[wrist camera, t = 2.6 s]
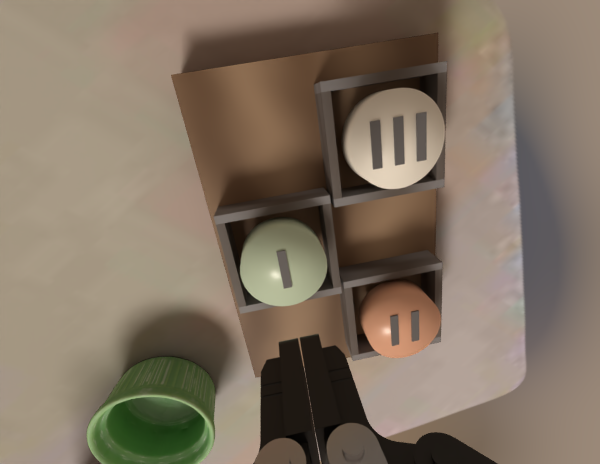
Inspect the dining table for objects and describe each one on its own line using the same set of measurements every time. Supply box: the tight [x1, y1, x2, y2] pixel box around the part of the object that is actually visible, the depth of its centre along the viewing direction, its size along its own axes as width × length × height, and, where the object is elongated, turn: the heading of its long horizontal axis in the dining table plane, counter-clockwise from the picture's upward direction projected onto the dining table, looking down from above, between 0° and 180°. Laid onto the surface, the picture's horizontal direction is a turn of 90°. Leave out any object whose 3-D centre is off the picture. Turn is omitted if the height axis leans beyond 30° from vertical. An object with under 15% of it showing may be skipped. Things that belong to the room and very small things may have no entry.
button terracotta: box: [359, 279, 441, 358], centre depth 21 cm, size 5×5×2 cm
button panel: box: [171, 33, 447, 377], centre depth 21 cm, size 15×22×4 cm
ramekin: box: [87, 357, 215, 464], centre depth 25 cm, size 9×9×4 cm
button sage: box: [240, 217, 327, 306], centre depth 19 cm, size 5×5×2 cm
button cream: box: [341, 88, 445, 189], centre depth 17 cm, size 5×5×2 cm
